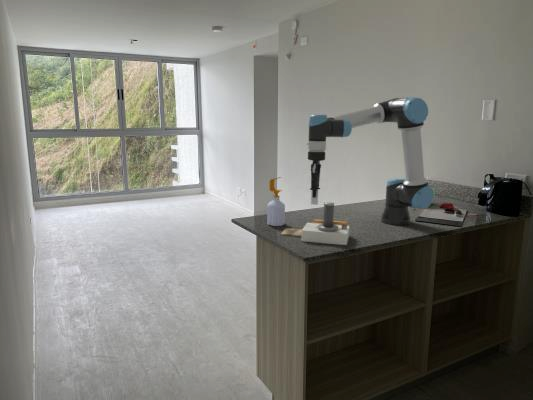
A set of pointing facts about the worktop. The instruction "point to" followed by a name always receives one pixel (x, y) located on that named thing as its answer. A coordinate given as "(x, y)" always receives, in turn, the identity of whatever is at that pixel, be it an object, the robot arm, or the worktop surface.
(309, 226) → the socket block
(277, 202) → the soap bottle
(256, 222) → the worktop surface
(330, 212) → the plug
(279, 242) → the worktop surface
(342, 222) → the clip
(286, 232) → the cork mat
